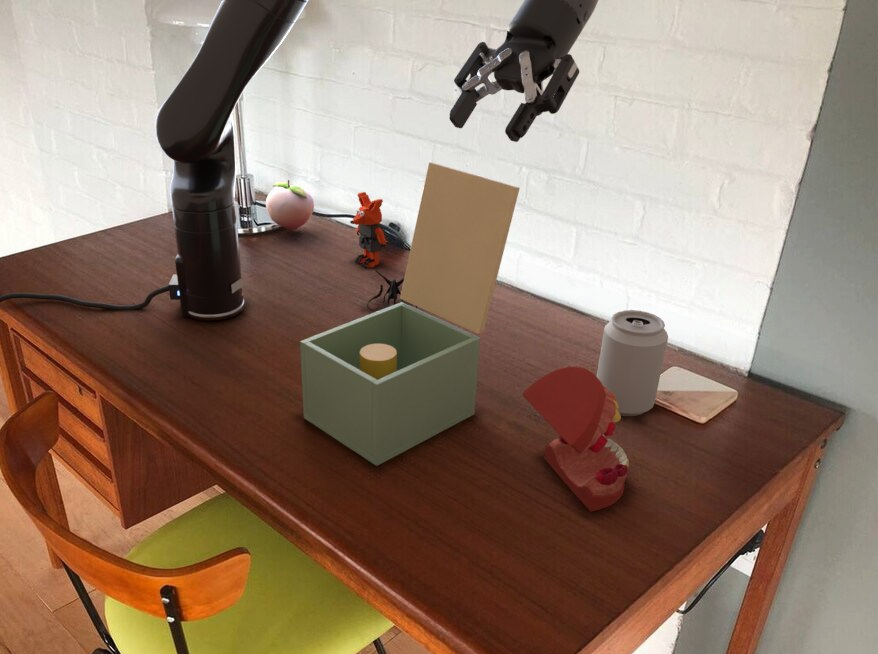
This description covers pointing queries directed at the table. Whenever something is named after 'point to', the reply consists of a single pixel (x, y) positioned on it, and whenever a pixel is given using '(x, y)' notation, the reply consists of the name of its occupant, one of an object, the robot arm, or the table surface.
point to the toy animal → (369, 230)
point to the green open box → (389, 381)
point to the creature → (389, 291)
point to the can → (632, 359)
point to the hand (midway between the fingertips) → (481, 130)
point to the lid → (458, 245)
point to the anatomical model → (582, 434)
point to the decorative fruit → (289, 205)
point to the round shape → (378, 360)
